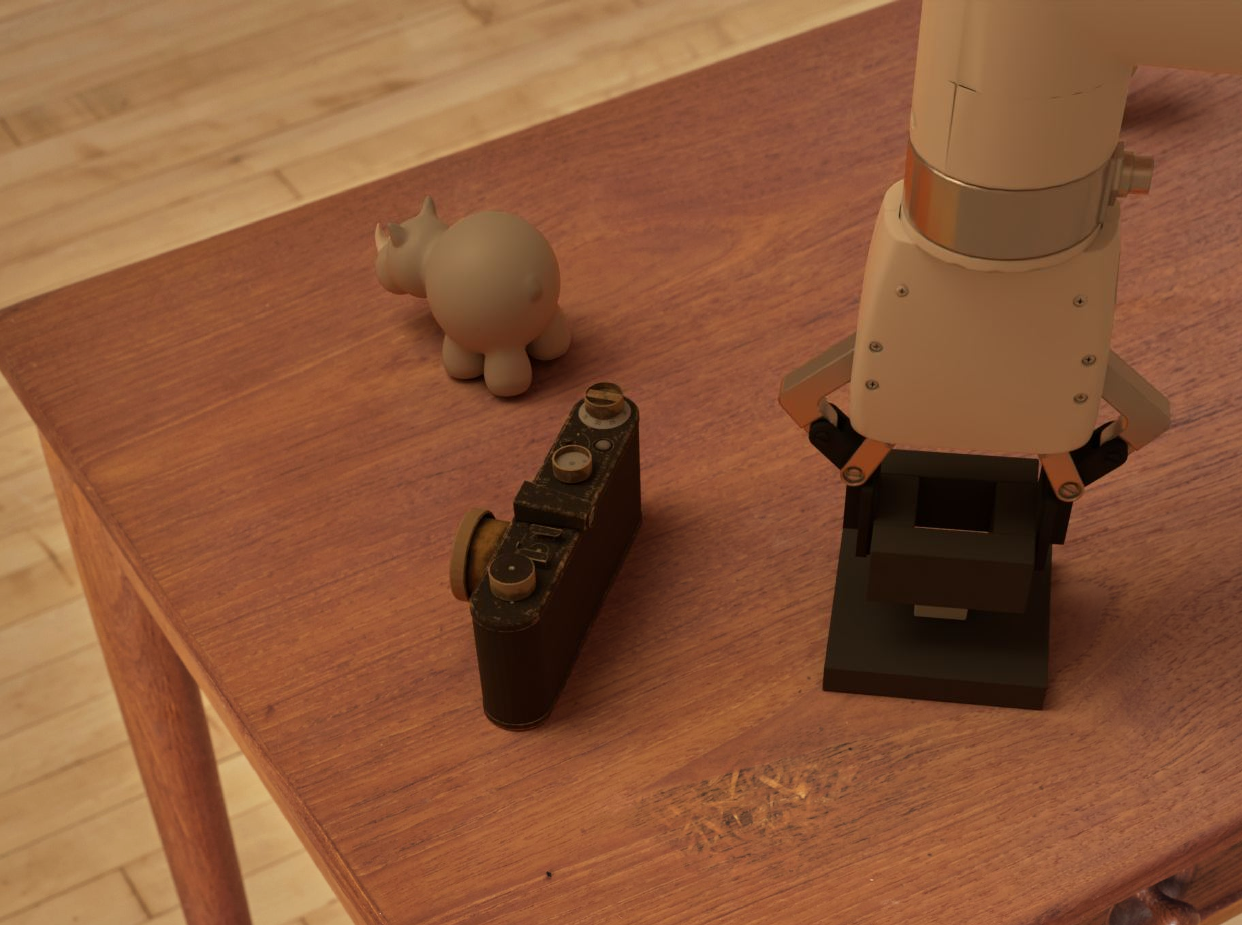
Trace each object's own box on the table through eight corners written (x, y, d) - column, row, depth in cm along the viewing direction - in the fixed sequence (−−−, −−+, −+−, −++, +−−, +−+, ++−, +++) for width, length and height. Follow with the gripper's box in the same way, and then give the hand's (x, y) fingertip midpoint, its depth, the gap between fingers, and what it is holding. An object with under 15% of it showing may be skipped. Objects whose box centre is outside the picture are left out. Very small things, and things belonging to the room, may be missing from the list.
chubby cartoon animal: (432, 279, 105) (414, 142, 99) (592, 351, 100) (585, 211, 94) (348, 342, 102) (323, 204, 96) (509, 419, 97) (495, 279, 90)
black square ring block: (1029, 510, 84) (1039, 458, 82) (1024, 614, 80) (1034, 563, 78) (877, 498, 85) (882, 447, 83) (864, 601, 81) (870, 550, 79)
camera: (536, 487, 94) (525, 356, 87) (659, 509, 92) (656, 378, 86) (416, 710, 85) (394, 582, 79) (549, 740, 83) (537, 612, 77)
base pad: (1047, 561, 88) (1061, 497, 85) (1042, 710, 82) (1056, 647, 79) (841, 545, 90) (847, 481, 87) (822, 690, 84) (827, 628, 81)
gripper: (1243, 136, 69) (1147, 503, 83) (784, 118, 71) (768, 476, 86) (1251, 251, 64) (1148, 617, 79) (762, 227, 67) (749, 585, 81)
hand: (950, 541), depth 82 cm, fingers closed on black square ring block, 7 cm apart
